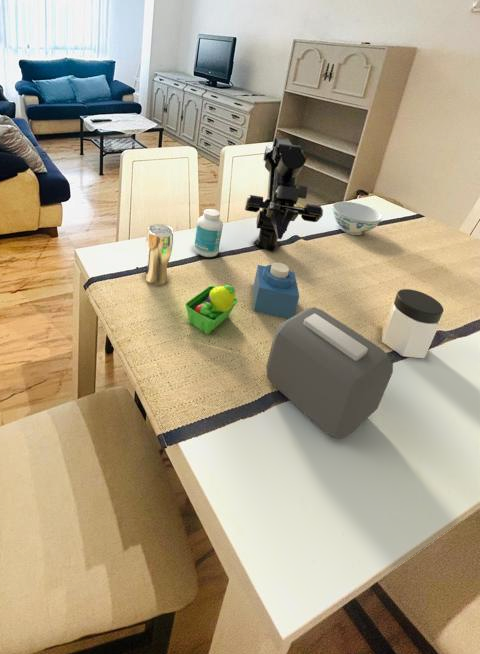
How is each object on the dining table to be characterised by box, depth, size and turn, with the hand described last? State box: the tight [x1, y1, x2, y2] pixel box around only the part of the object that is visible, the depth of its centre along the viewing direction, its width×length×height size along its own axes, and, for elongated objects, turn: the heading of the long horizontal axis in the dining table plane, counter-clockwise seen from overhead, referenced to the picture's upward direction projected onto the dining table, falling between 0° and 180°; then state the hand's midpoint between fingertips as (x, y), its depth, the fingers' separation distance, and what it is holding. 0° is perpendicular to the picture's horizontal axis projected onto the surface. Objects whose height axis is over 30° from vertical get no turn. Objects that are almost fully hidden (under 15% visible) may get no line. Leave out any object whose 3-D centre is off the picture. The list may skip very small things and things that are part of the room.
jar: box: [381, 288, 444, 359], centre depth 84 cm, size 9×8×12 cm
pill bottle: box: [193, 208, 224, 258], centre depth 116 cm, size 8×7×14 cm
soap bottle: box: [252, 264, 300, 320], centre depth 96 cm, size 10×9×9 cm
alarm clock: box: [265, 306, 394, 439], centre depth 69 cm, size 16×11×16 cm
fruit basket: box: [185, 284, 238, 335], centre depth 88 cm, size 11×9×11 cm
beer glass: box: [144, 223, 174, 286], centre depth 102 cm, size 7×7×15 cm
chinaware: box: [332, 201, 383, 236], centre depth 135 cm, size 15×15×8 cm
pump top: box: [270, 262, 290, 279], centre depth 94 cm, size 4×4×2 cm
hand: (279, 238), depth 101 cm, fingers closed
